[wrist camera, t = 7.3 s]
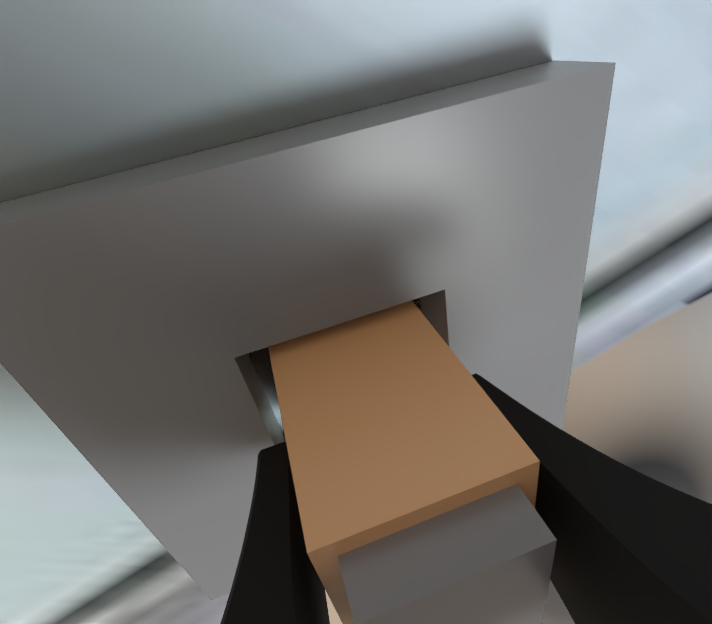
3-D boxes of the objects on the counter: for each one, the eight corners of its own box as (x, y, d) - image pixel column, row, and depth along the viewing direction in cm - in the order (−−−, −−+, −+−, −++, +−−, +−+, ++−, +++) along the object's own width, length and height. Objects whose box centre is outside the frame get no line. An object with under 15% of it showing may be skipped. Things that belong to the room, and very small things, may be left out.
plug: (392, 275, 13) (583, 515, 6) (407, 372, 15) (559, 623, 8) (261, 316, 12) (320, 626, 6) (298, 410, 14) (369, 710, 8)
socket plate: (553, 60, 11) (615, 62, 9) (527, 425, 19) (557, 461, 17) (-42, 213, 9) (-99, 251, 7) (211, 545, 17) (211, 599, 15)
